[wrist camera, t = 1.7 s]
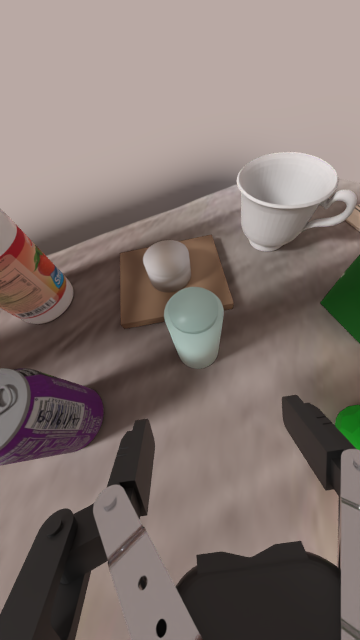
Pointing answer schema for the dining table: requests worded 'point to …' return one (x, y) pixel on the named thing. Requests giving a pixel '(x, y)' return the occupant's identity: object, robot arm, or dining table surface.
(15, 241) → the strawberry yogurt bottle
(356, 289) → the milk carton
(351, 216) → the newspaper
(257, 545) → the dining table surface
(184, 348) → the pale green cylinder
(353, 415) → the polyhedron
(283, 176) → the teacup
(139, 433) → the robot arm
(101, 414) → the beverage can
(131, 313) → the stud base
